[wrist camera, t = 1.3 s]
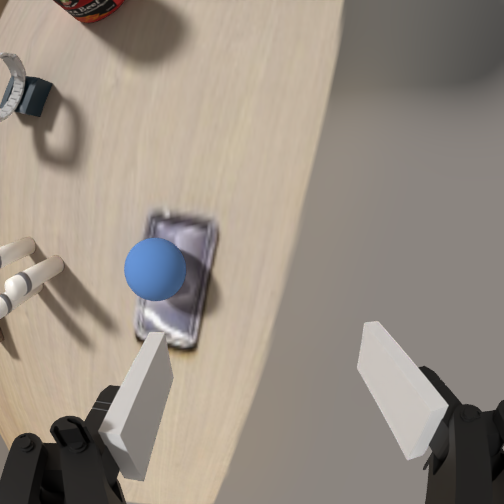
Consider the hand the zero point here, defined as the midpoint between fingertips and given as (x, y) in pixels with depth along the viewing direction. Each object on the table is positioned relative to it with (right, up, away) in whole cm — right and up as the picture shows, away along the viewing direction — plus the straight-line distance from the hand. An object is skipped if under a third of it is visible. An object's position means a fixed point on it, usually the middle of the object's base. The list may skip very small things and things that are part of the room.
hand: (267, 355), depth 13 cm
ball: (-10, +3, +14) cm, 17 cm away
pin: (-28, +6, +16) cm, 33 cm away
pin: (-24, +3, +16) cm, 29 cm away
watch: (-28, +24, +11) cm, 38 cm away
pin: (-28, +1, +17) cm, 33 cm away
